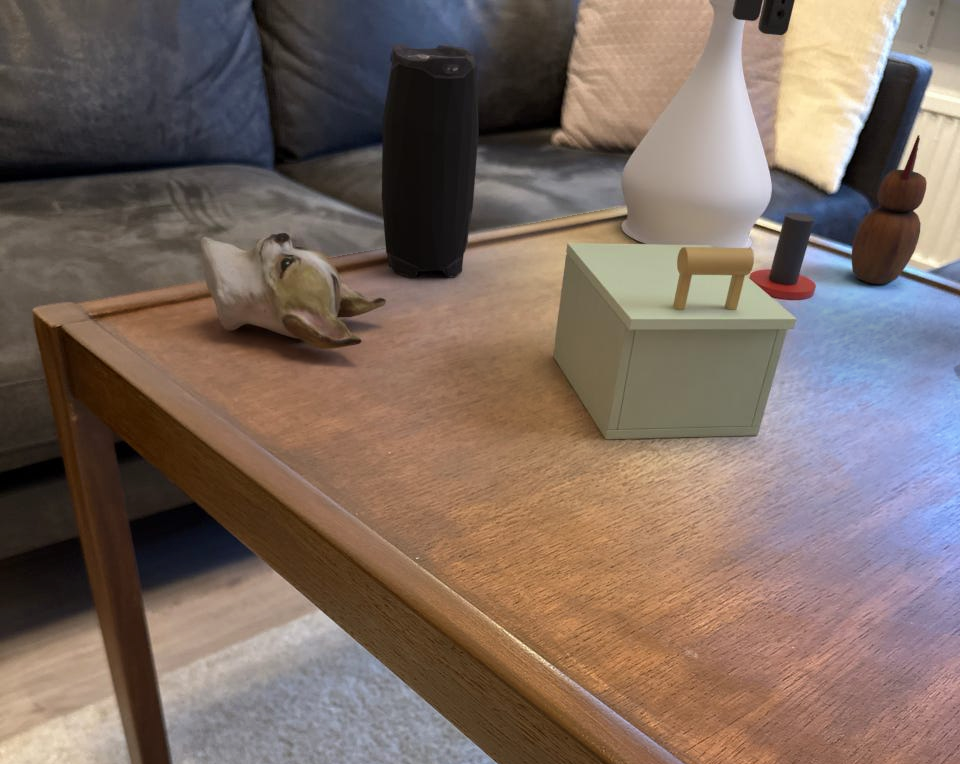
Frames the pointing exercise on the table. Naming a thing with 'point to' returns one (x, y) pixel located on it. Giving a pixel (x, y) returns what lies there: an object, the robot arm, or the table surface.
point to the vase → (701, 155)
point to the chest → (661, 370)
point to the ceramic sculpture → (282, 291)
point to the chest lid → (679, 286)
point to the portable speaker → (429, 158)
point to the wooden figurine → (890, 226)
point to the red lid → (788, 261)
